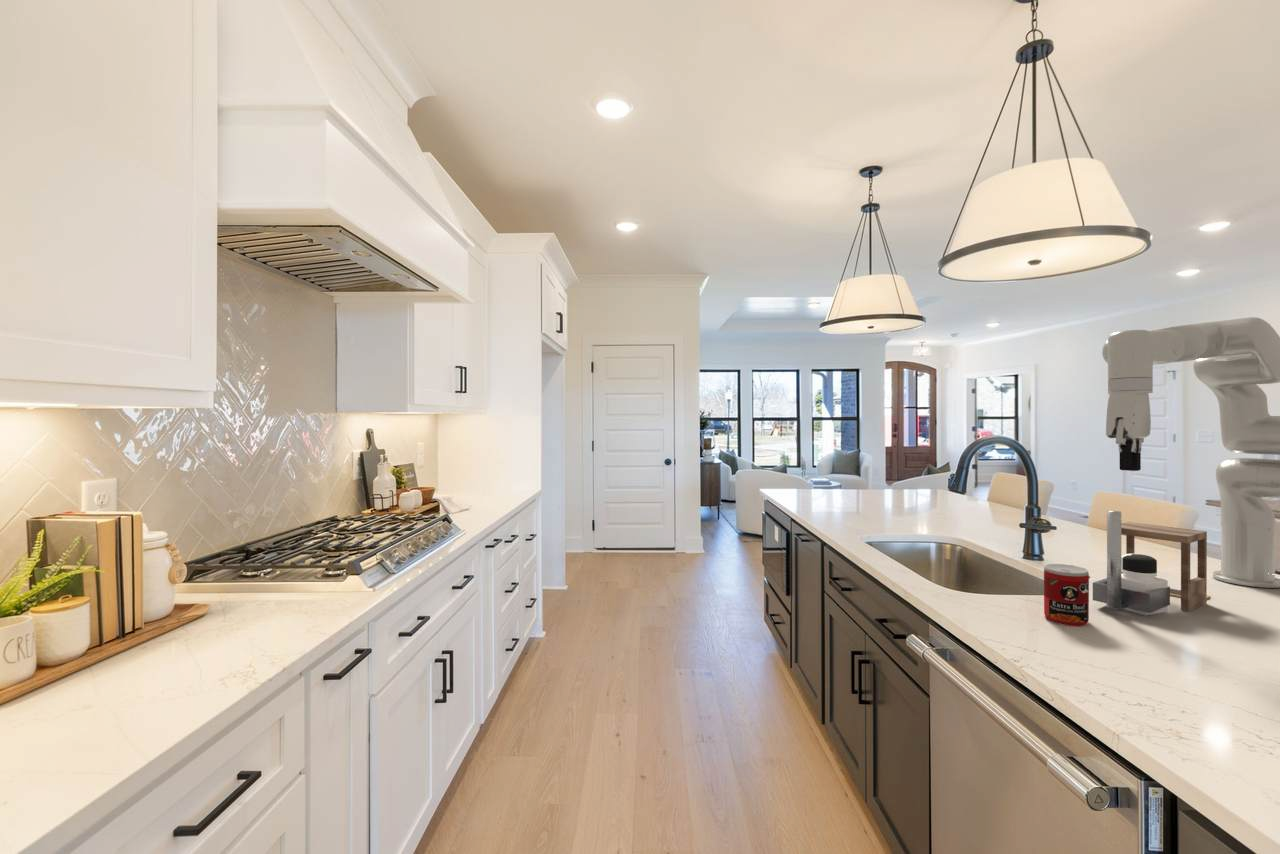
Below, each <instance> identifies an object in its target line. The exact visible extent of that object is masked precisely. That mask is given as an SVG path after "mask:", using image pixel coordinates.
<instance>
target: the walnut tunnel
mask: <svg viewBox="0 0 1280 854" xmlns="http://www.w3.org/2000/svg"><path fill="white" fill-rule="evenodd" d="M1207 532H1208V531H1205V530H1198V529H1189V528H1181V527H1174V526H1173V527H1172V526H1167V525H1166V526H1163V525H1155V524H1147V523H1139V522H1131V521H1127V522H1121V536H1122V535H1125V536H1126V537H1125V538H1126V541H1125V544H1126V547H1125V548H1126V550H1125V553H1126V554H1135V537H1138V538H1144V539H1145V538H1146V539H1153V540H1159V541H1160V540H1161V541H1169V542H1175V543H1180V590H1181V598H1180V611H1181V610H1182V611H1181V612H1186V611H1187V613H1190V612H1191V610H1192V611H1193V609H1194V610H1196V609H1198V608H1200V606H1201V607H1203V606H1205V605H1207V600H1208V599H1207V595H1208V592H1207V590H1208V589H1207V587H1208V586H1207V584H1208V583H1207V581H1208V580H1207V576H1208V574H1207V570H1208V569H1207V566H1208V565H1207V563H1208V562H1207V559H1208V557H1207V552H1208V550H1207V549H1208V548H1207V547H1208V545H1207V542H1208V541H1207V540H1208V538H1207V536H1208V533H1207ZM1194 542H1197V577H1195V578H1194V577H1193V578H1191V543H1194ZM1121 574H1123V572H1121ZM1204 604H1205V605H1204ZM1202 605H1203V606H1202Z"/></svg>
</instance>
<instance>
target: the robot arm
mask: <svg viewBox="0 0 1280 854" xmlns="http://www.w3.org/2000/svg"><path fill="white" fill-rule="evenodd" d="M1101 353H1102V357H1103V360H1104V361H1105V362H1106V364H1107V394H1108V400H1107V408H1106V419H1105V422H1106V423H1105V436H1106V437H1107V438H1109V439H1115V444H1117V445H1118V452H1119V470H1120V471H1128V472H1129V471H1131V472H1137V471H1141V468H1142V467H1141V462H1142V461H1141V460H1142V459H1141V454H1142V453H1141V452H1142V445H1143V443H1144V441H1145V438H1147V437H1149V436H1150V435H1151V423H1152V421H1151V407H1150V406H1151V405H1150V402H1151V401H1150V395H1149V394H1153V392H1154V391H1153V390H1154V388H1153V386H1154V384H1153V383H1154V382H1153V381H1154V380H1153V379H1154V378H1153V376H1154V375H1153V374H1154V372H1153V371H1154V370H1153V368H1154V367H1153V366H1154V365H1164V364H1171V363H1180V362H1181V363H1182V362H1191V361H1194V362H1193V373H1194V374H1195V376H1196V378H1198V380H1199V381H1200V382H1202V384H1204V385H1206V386H1207V387H1208V389H1210V391H1211V392H1212V393H1213V394H1214V396H1215V397H1216V400H1217V401H1218V406H1219V407H1218V409H1219V421H1220V434H1221V435H1220V436H1221V440H1222V445H1223V447H1224V448H1225V449H1226V450H1227V451H1230V452H1232V453H1239V454H1252V455H1275V456H1276V455H1279V456H1280V415H1271V414H1270V413H1269V408H1268V406H1269V405H1268V398H1267V394H1266V393H1265V391H1264V390H1263V389H1262V388H1261V387H1260V386H1259V385H1269V384H1270V385H1271V384H1278V383H1280V335H1279V334H1278V332H1277V330H1276V329H1275V328H1274V327H1273V326H1272V325H1271V324H1270V323H1269V322H1268V321H1267V320H1264V319H1262V318H1260V317H1256V316H1255V317H1254V316H1252V317H1243V318H1233V319H1226V320H1217V321H1216V320H1215V321H1208V322H1200V323H1194V324H1193V323H1191V324H1182V325H1175V326H1170V327H1162V328H1160V329H1153V330H1146V329H1129V330H1128V329H1127V330H1121V331H1120V330H1119V331H1116V332H1113V333H1111V334H1110V335H1109V336H1108V338H1107V340H1106V341H1105V343H1104V344H1103V346H1102V352H1101ZM1215 480H1216V484H1217V487H1218V492H1219V497H1220V498H1219V499H1220V570H1216V571H1213V572H1212V577H1213V578H1214V579H1216V580H1219V581H1222V582H1225V583H1229V584H1232V585H1233V584H1234V585H1239V586H1246V587H1252V588H1253V587H1254V588H1255V587H1256V588H1264V589H1278V588H1280V578H1277V577H1276V569H1275V568H1276V516H1275V513H1274V511H1273V509H1272V507H1270V505H1269V504H1268V503H1267V502H1266V501H1265V500H1264V499H1263V498H1272V499H1273V498H1274V499H1280V459H1273V458H1272V459H1271V458H1270V459H1269V458H1255V457H1253V458H1251V457H1237V458H1236V457H1234V458H1229V459H1226V460H1223V461H1222V462H1220V463H1218V466H1217V467H1216V470H1215ZM1268 573H1269V574H1268ZM1272 574H1275V575H1272Z"/></svg>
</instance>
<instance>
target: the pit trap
mask: <svg viewBox="0 0 1280 854" xmlns="http://www.w3.org/2000/svg"><path fill="white" fill-rule="evenodd" d="M1170 595H1172V596H1171V597H1174V596H1176V597H1175V598H1179V597H1181V589H1178V588H1177V589H1176V588H1172V587H1170ZM1210 597H1212V596H1211V595H1209V594H1207V600H1208V599H1210Z"/></svg>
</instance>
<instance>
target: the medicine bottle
mask: <svg viewBox="0 0 1280 854" xmlns="http://www.w3.org/2000/svg"><path fill="white" fill-rule="evenodd" d="M1121 572H1123V574H1121V588H1126V589H1131V590H1136V591H1141V592H1146V593H1147V592H1150V591H1153V590H1155V589H1160V588H1167V587H1168V586H1169V581H1168V580H1167V579H1165V578H1160V577H1157V576H1158V561H1157V559H1156V558H1154V557H1153V556H1150V555H1146V554H1139V553H1134V554H1121ZM1168 608H1169V607H1168V606H1166V607H1164V608H1161V609H1159V610H1156V611H1154V612H1152V613H1147V612H1143V611H1138V610H1134V609H1129V608H1124V609H1123V610H1125V611H1128V612H1132V613H1134V614H1135V613H1136V614H1139V615H1142V616H1149V615H1150V616H1151V615H1157V614H1164V613H1168V610H1169V609H1168Z"/></svg>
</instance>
